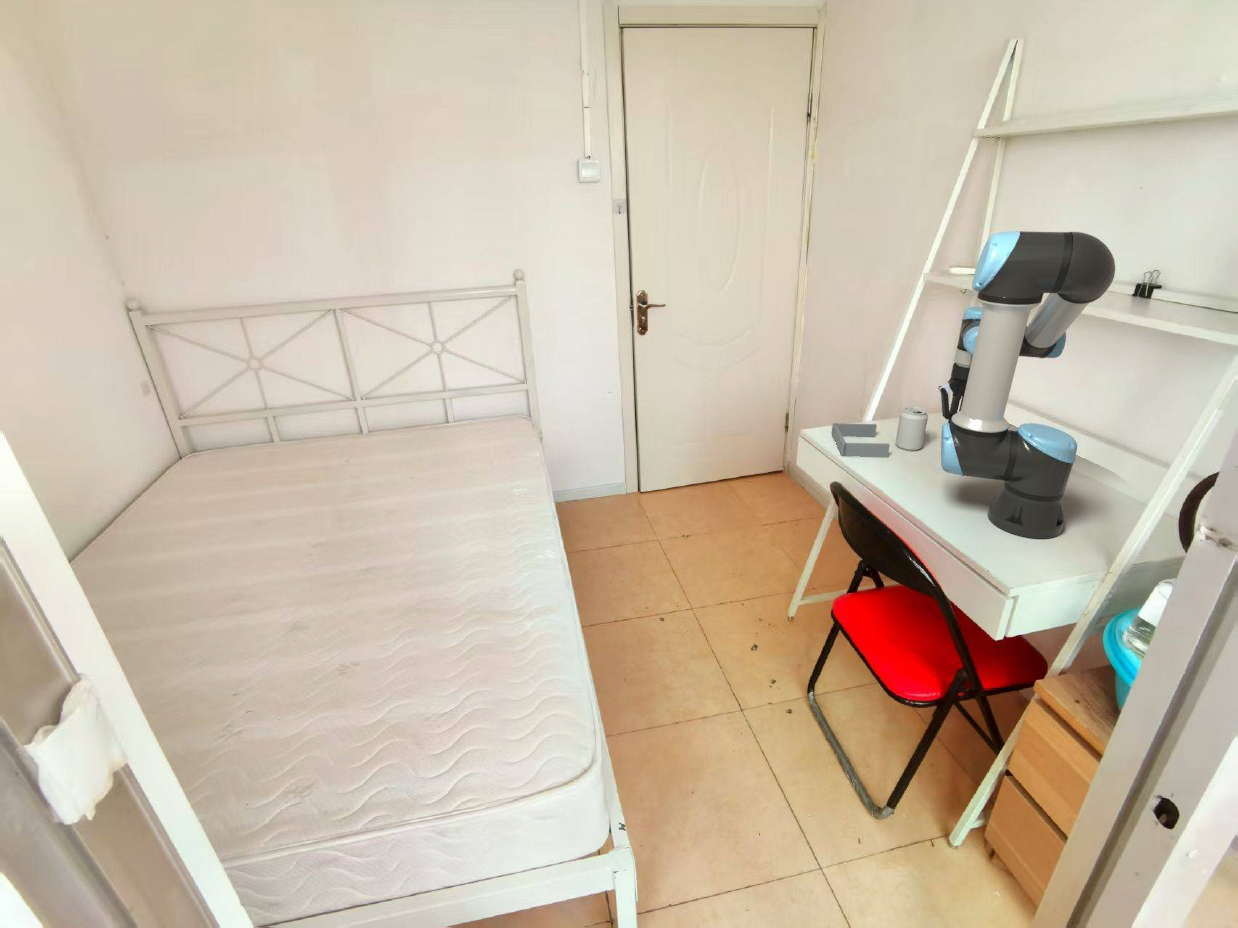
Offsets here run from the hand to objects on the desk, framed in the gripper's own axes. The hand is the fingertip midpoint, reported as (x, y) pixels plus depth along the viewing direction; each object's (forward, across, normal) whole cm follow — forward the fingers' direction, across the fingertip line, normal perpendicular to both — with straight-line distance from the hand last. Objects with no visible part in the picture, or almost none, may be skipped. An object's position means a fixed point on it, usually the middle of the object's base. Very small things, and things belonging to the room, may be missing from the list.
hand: (951, 440), depth 186 cm
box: (+2, +27, 0) cm, 27 cm away
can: (+2, +12, 0) cm, 12 cm away
